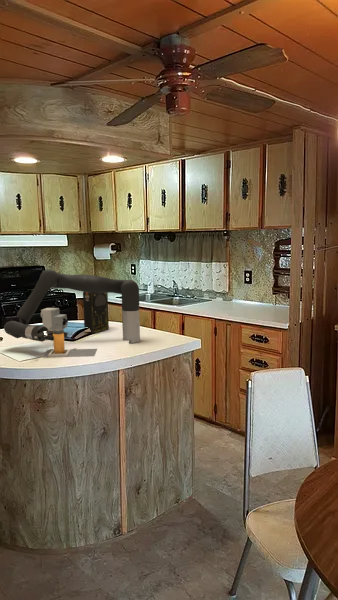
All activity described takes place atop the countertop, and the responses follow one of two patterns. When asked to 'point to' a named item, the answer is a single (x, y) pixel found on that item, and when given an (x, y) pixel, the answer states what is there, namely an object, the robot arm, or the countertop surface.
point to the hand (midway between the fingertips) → (60, 336)
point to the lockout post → (58, 341)
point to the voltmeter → (96, 311)
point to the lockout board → (72, 353)
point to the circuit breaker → (53, 319)
